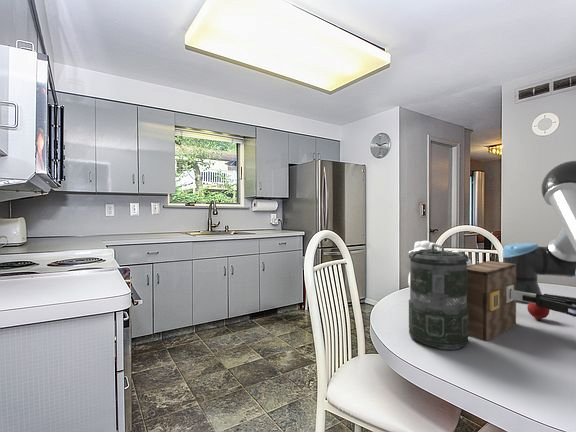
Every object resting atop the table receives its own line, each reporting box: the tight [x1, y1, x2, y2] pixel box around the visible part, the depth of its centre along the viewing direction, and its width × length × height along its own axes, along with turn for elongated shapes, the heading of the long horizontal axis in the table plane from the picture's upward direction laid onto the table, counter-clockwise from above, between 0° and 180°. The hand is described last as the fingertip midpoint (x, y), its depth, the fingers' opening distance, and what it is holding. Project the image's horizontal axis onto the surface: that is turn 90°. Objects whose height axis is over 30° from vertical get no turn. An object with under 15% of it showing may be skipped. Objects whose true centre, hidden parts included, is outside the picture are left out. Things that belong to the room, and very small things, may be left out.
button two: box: [490, 290, 499, 311], centre depth 93 cm, size 5×5×5 cm
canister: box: [408, 243, 470, 351], centre depth 90 cm, size 16×16×28 cm
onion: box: [526, 303, 550, 321], centre depth 105 cm, size 6×6×8 cm
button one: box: [506, 284, 514, 303], centre depth 100 cm, size 5×5×5 cm
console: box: [467, 260, 517, 342], centre depth 98 cm, size 22×8×20 cm, turn 125°
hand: (511, 294), depth 97 cm, fingers closed
